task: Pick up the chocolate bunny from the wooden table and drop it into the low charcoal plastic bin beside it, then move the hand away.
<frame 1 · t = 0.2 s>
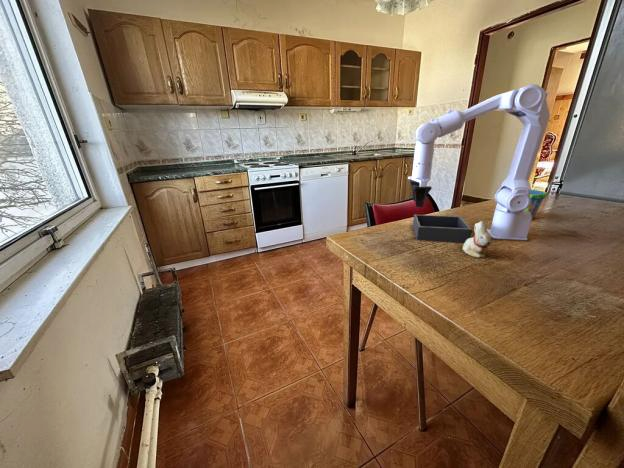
hand: (417, 203, 88), 10 cm above the table, tool pointing down, fingers open, 7 cm apart
snack cup: (521, 217, 103), on the table
chocolate bunny: (473, 253, 75), on the table
bin: (438, 233, 89), on the table
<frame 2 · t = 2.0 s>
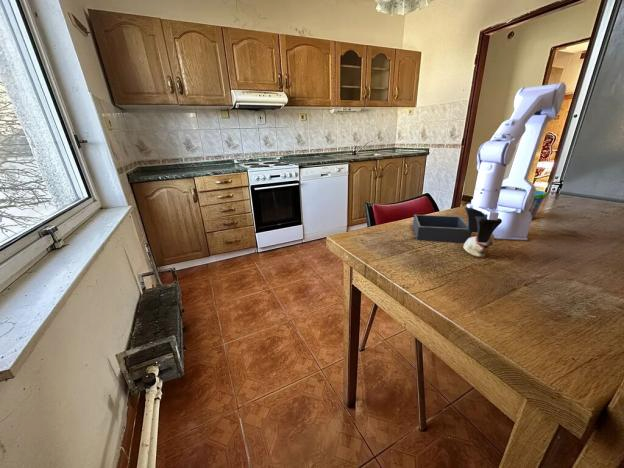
hand: (477, 236, 73), 5 cm above the table, tool pointing down, fingers open, 7 cm apart
chocolate bunny: (473, 252, 74), on the table, touching gripper
everything else where it was.
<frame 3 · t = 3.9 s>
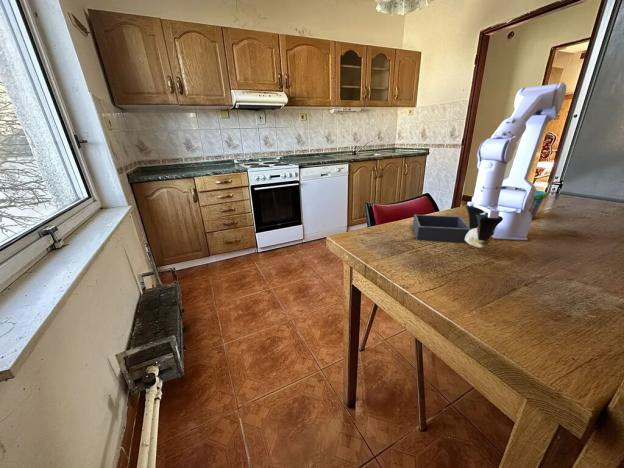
hand: (477, 234, 72), 6 cm above the table, tool pointing down, fingers closed on chocolate bunny, 7 cm apart
chocolate bunny: (475, 244, 74), point 3 cm above the table, touching gripper
everything else where it was.
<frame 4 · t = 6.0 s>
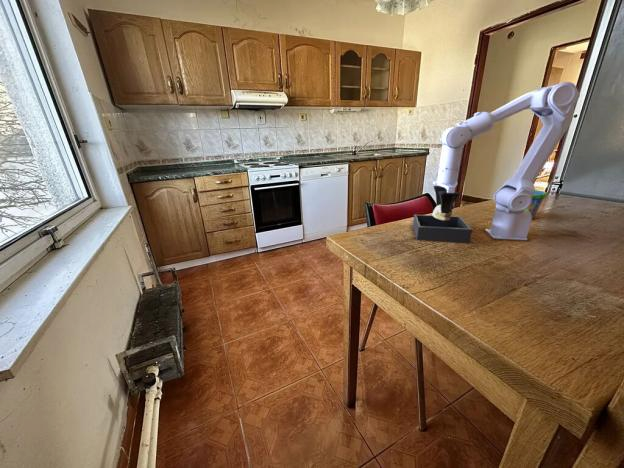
hand: (442, 209, 86), 9 cm above the table, tool pointing down, fingers closed on chocolate bunny, 7 cm apart
chocolate bunny: (441, 218, 87), point 6 cm above the table, touching gripper
everything else where it was.
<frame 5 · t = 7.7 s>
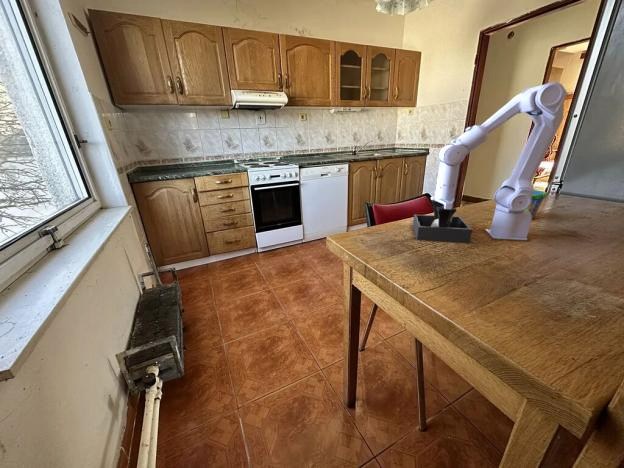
hand: (440, 224, 87), 4 cm above the table, tool pointing down, fingers closed on chocolate bunny, 7 cm apart
chocolate bunny: (438, 232, 89), point 1 cm above the table, touching bin, gripper
everything else where it was.
when the fingers open (8 cm above the table, at t = 9.1 s): chocolate bunny drops 4 cm, resting on bin.
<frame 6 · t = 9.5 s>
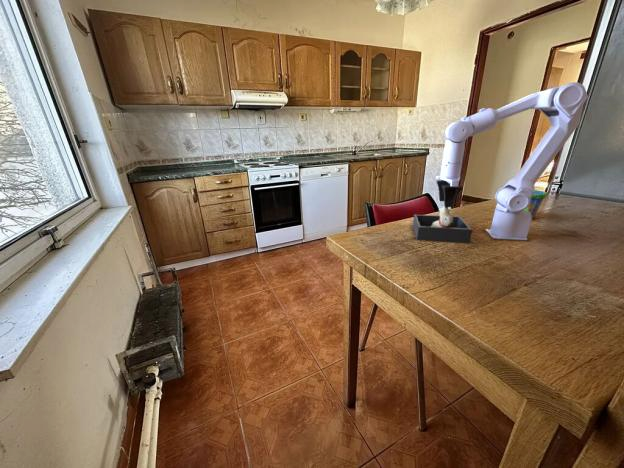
hand: (445, 203, 87), 10 cm above the table, tool pointing down, fingers open, 7 cm apart
chocolate bunny: (439, 234, 87), resting on bin, touching gripper
everything else where it was.
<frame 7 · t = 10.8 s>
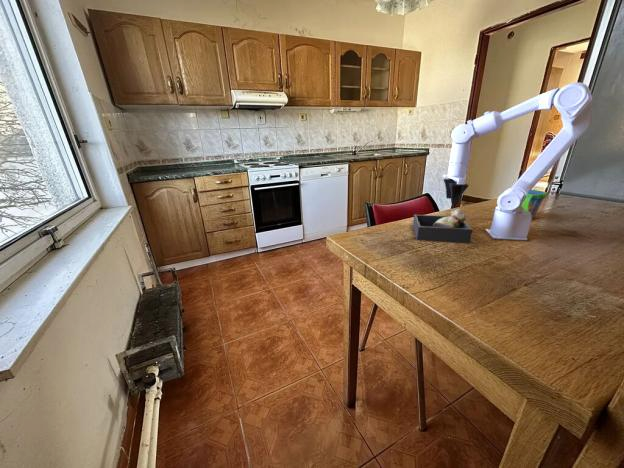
hand: (452, 200, 93), 9 cm above the table, tool pointing down, fingers open, 7 cm apart
chocolate bunny: (443, 228, 87), point 3 cm above the table, touching bin
everything else where it was.
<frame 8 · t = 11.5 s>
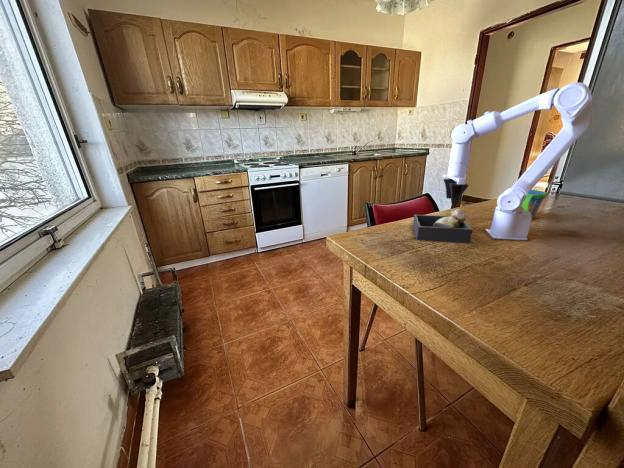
hand: (452, 200, 93), 9 cm above the table, tool pointing down, fingers open, 7 cm apart
nothing on the table moved.
at the end: chocolate bunny inside the target area in the bin (1.4 cm from its centre), point 2.5 cm above the bin's base; the gripper is holding nothing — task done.
